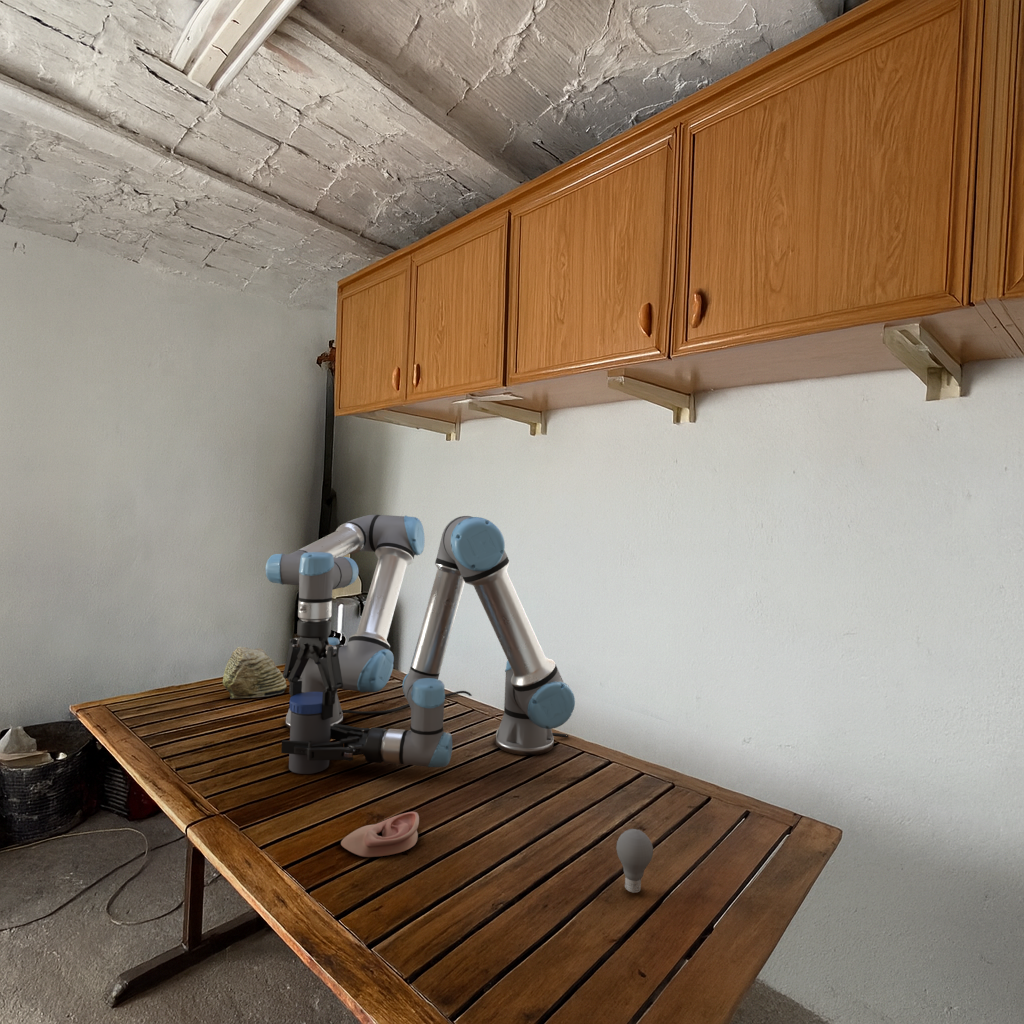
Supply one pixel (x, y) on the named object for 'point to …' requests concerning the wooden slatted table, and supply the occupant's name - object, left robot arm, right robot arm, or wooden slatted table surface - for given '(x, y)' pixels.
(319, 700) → the lid
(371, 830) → the anatomical model
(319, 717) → the jar
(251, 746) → the wooden slatted table surface
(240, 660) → the fossil
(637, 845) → the light bulb
